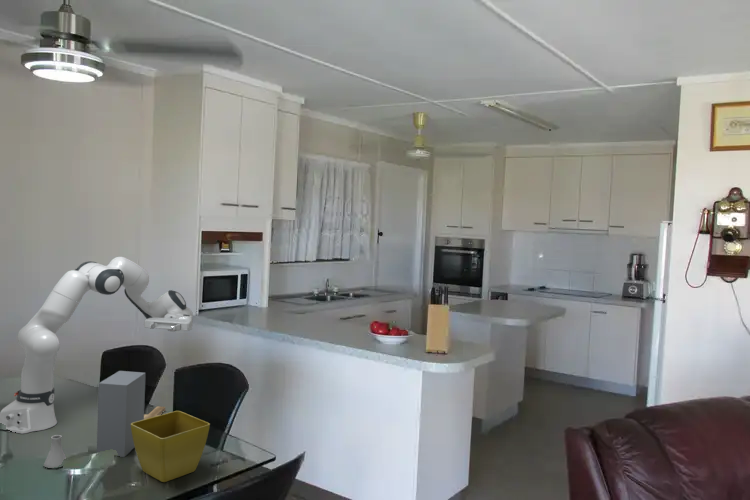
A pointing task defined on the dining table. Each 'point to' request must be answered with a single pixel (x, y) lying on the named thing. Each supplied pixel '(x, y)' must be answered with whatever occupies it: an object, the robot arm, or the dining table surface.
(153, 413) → the oak paddle board
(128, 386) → the grey post
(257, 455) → the dining table surface
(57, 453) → the flask
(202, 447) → the flower pot
